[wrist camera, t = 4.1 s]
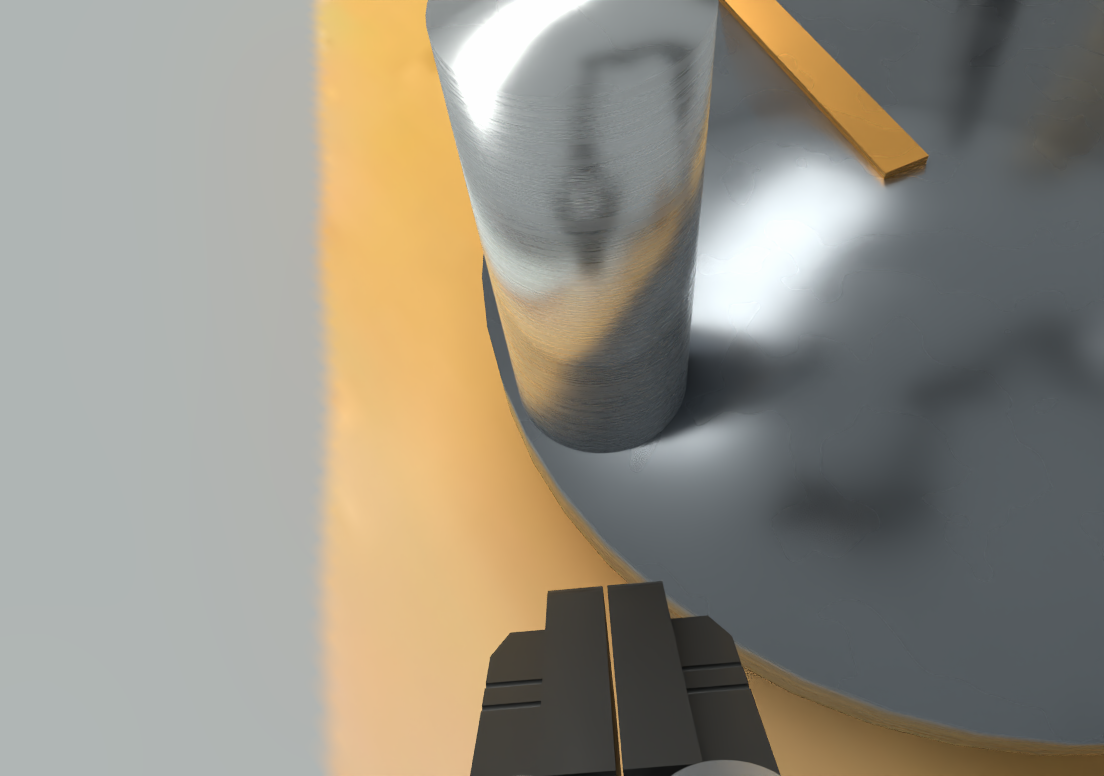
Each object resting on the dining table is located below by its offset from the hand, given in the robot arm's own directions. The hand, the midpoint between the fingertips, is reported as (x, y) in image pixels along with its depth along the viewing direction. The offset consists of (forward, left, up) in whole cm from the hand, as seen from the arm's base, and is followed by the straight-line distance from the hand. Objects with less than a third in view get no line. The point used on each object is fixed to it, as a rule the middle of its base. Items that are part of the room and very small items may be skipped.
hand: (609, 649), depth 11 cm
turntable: (-9, -10, -6) cm, 14 cm away
